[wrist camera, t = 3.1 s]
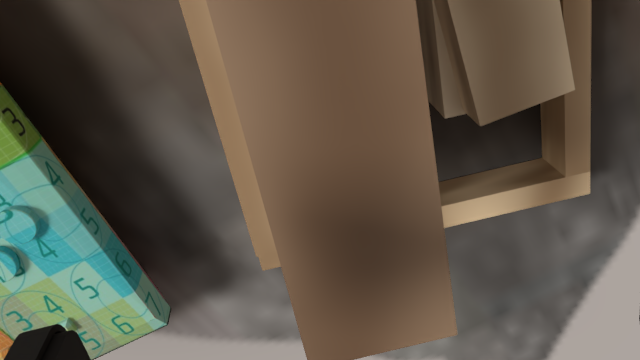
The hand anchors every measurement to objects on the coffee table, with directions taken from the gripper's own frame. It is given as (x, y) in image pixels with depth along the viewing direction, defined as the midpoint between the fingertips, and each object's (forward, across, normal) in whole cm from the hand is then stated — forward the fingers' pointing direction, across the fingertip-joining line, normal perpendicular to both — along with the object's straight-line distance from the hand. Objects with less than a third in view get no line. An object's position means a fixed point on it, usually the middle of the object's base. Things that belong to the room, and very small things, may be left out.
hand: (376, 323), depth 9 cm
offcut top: (+16, -8, -1) cm, 18 cm away
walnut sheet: (+18, 0, -1) cm, 18 cm away
